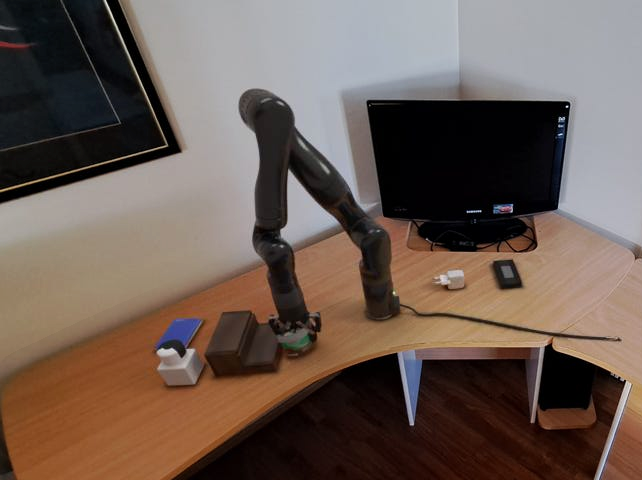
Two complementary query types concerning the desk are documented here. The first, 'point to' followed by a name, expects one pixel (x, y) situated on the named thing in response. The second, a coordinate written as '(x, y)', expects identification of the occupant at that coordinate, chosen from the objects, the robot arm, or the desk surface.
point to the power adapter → (451, 279)
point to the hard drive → (181, 331)
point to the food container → (296, 341)
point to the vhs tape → (507, 274)
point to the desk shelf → (242, 345)
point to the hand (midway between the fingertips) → (302, 341)
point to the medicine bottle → (178, 363)
